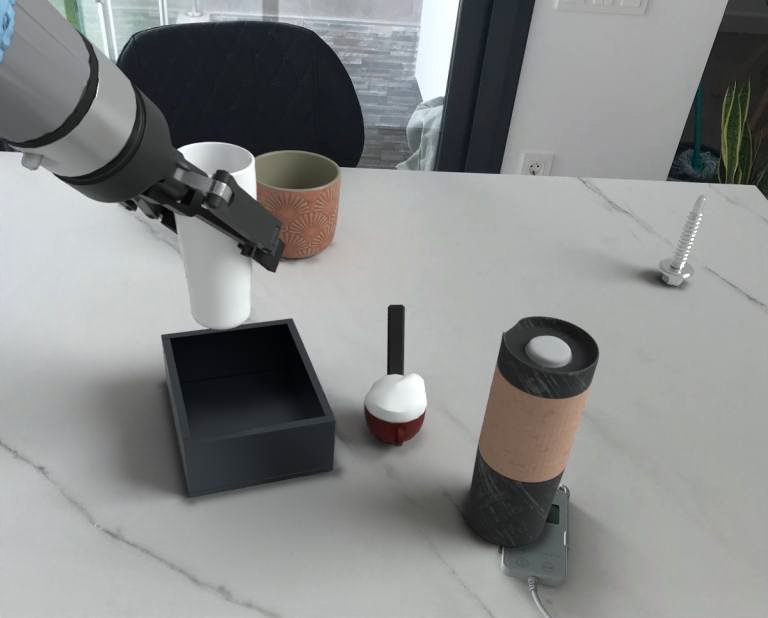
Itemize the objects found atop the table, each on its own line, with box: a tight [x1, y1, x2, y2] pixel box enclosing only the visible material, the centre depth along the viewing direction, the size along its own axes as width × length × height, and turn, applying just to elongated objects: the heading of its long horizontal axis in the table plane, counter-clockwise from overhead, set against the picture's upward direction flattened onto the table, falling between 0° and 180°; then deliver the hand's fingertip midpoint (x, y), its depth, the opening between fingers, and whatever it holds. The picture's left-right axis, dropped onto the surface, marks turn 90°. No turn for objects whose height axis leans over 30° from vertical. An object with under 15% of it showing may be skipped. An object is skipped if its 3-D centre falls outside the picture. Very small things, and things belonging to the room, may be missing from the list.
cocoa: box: [363, 304, 428, 447], centre depth 76 cm, size 10×6×12 cm, turn 163°
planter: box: [254, 149, 342, 259], centre depth 104 cm, size 12×12×11 cm
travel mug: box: [466, 315, 600, 548], centre depth 65 cm, size 8×8×20 cm
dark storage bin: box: [160, 317, 337, 498], centre depth 76 cm, size 17×14×7 cm
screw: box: [657, 194, 706, 287], centre depth 104 cm, size 13×5×5 cm
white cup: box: [174, 141, 257, 330], centre depth 66 cm, size 7×7×15 cm
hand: (240, 246), depth 69 cm, fingers closed on white cup, 7 cm apart
